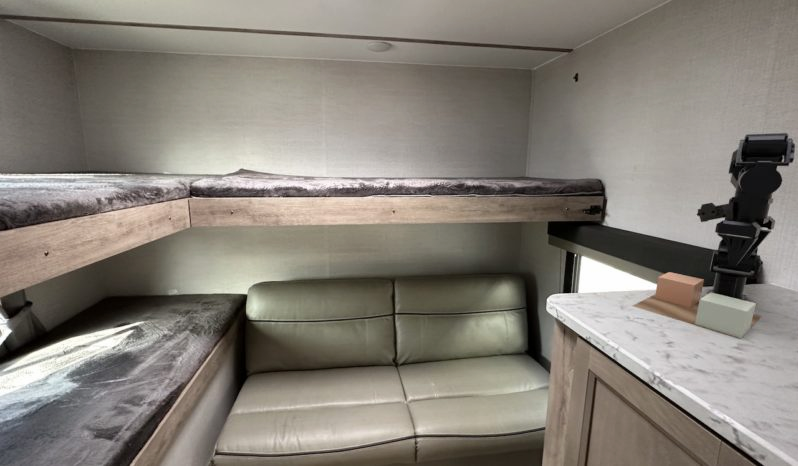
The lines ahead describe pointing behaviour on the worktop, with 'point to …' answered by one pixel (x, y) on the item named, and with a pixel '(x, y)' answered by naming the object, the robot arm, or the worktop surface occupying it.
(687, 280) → the salmon foam cube
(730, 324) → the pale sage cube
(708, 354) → the worktop surface
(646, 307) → the walnut board
